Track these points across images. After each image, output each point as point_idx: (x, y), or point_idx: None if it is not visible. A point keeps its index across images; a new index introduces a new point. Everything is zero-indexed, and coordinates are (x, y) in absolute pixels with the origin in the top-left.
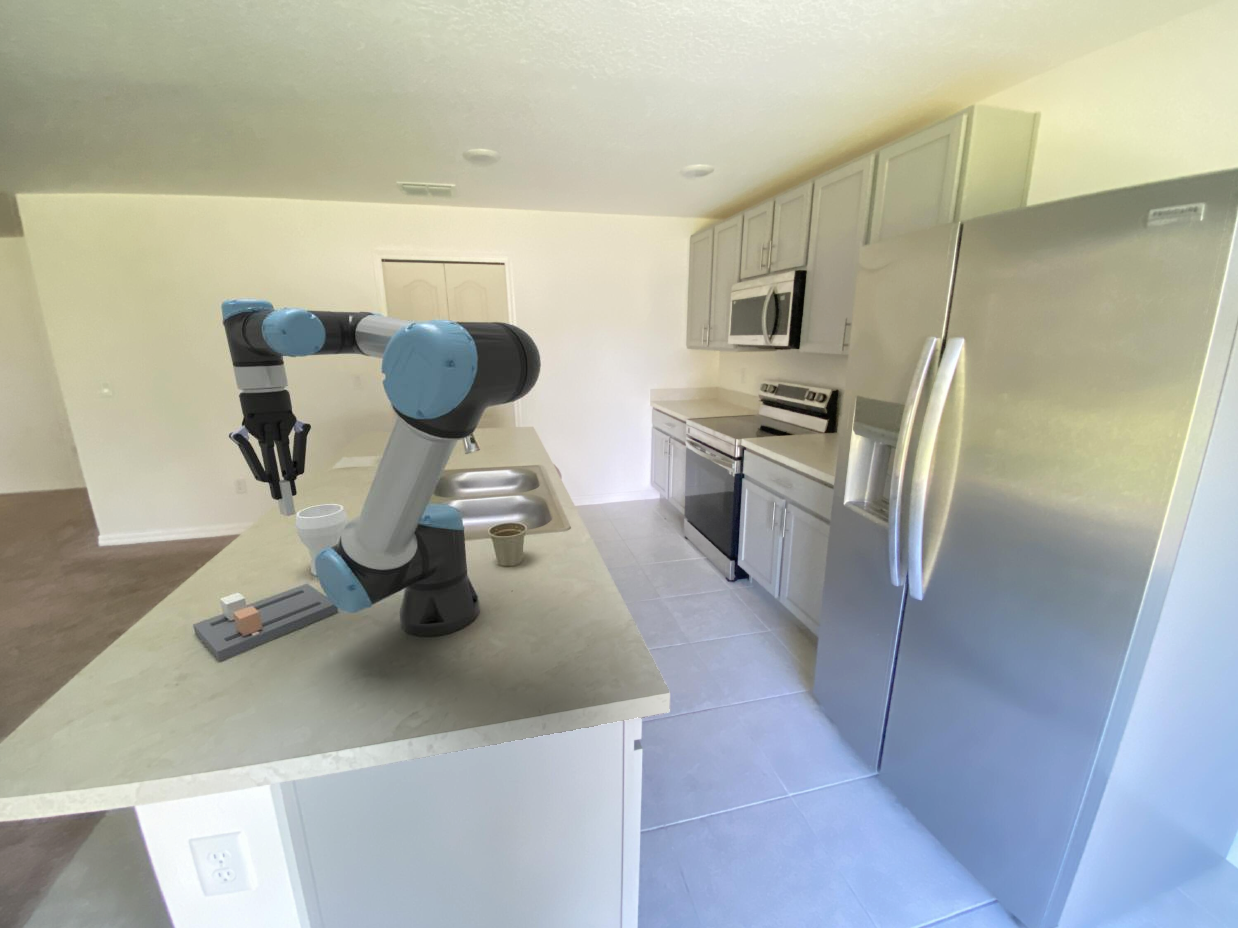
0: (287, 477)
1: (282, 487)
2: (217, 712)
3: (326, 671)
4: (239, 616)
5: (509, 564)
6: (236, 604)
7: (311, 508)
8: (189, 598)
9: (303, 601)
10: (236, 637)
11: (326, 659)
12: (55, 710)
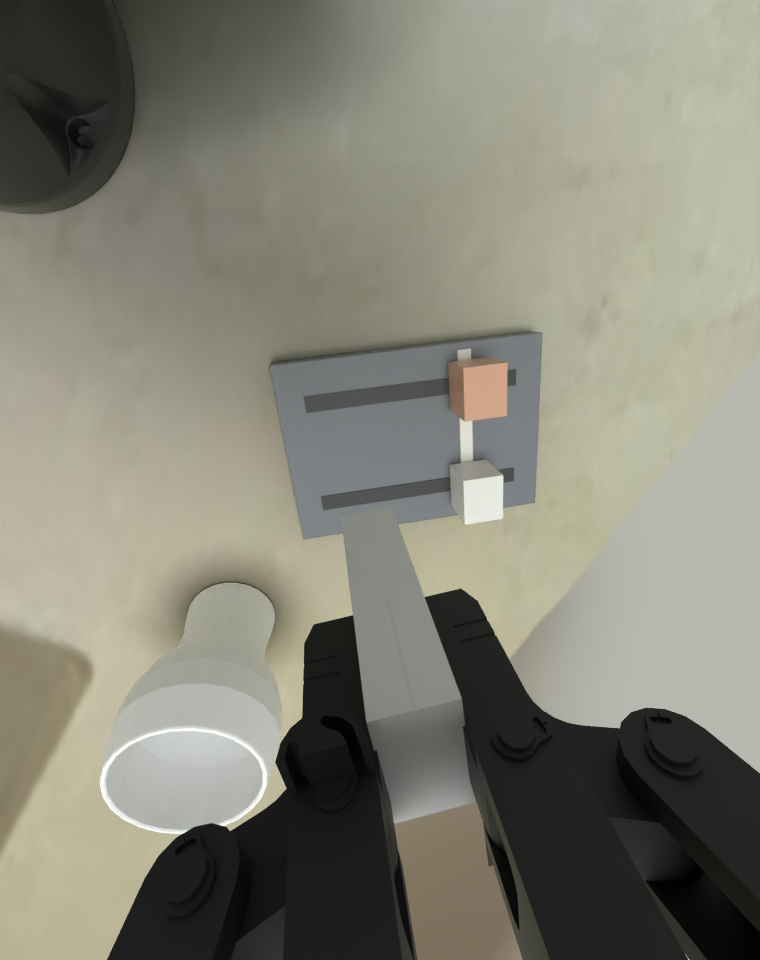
0: (380, 784)
1: (438, 654)
2: (597, 93)
3: (379, 40)
4: (503, 379)
5: None
6: (479, 474)
7: (209, 821)
8: None
9: (335, 444)
10: None
11: (362, 113)
12: (733, 377)
